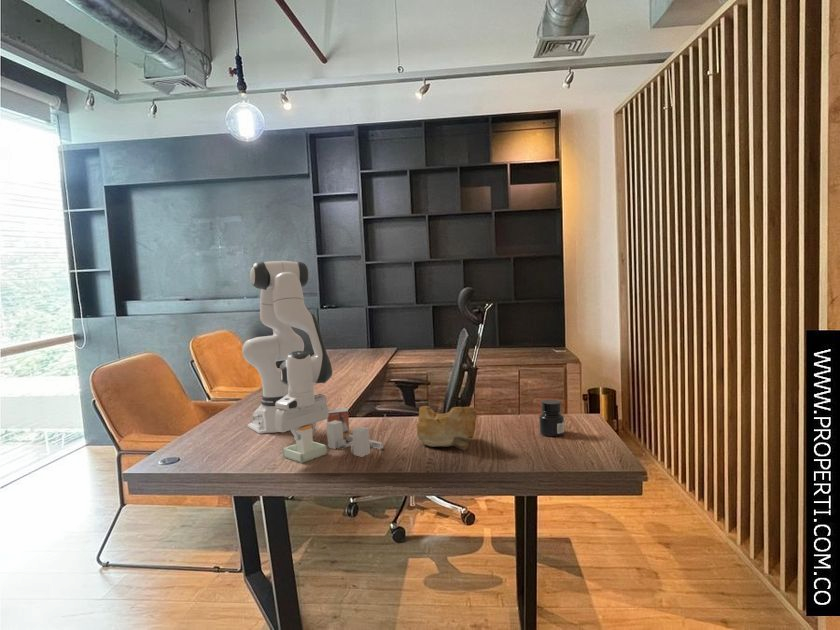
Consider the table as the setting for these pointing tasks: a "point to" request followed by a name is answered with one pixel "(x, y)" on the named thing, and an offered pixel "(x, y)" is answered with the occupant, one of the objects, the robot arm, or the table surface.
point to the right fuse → (361, 441)
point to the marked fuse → (305, 439)
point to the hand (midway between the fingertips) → (304, 437)
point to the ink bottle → (551, 419)
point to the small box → (340, 418)
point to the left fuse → (334, 433)
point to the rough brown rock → (446, 427)
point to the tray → (299, 457)
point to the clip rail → (350, 438)
